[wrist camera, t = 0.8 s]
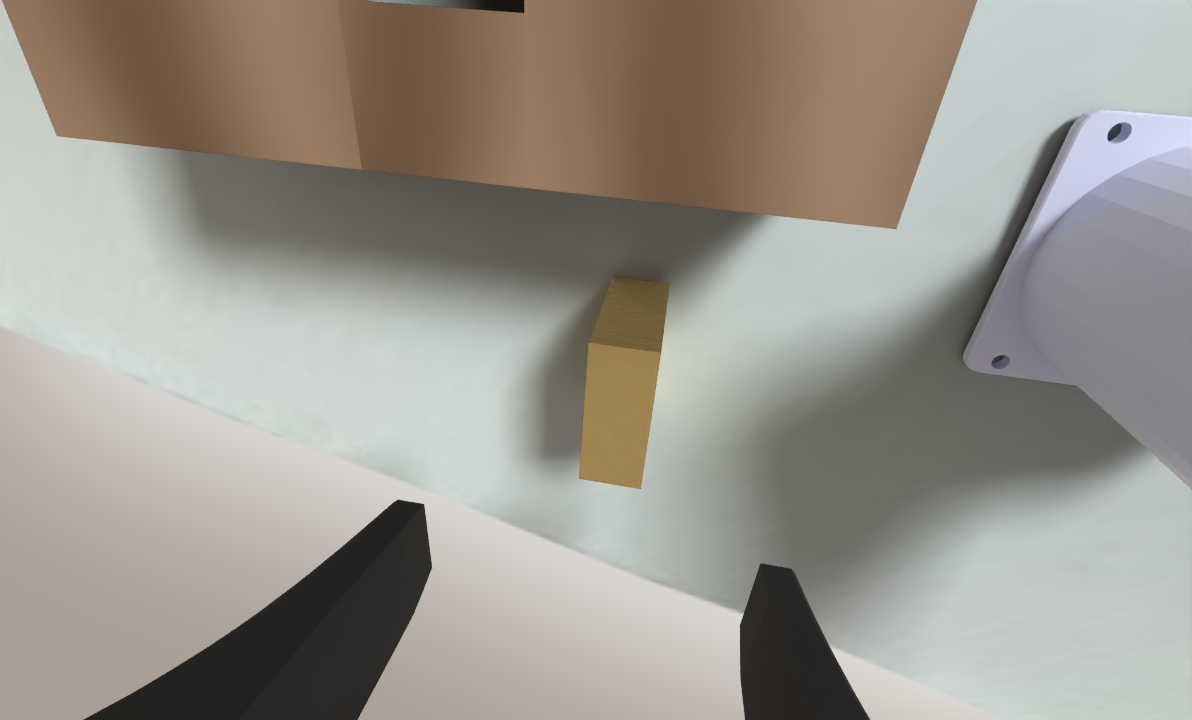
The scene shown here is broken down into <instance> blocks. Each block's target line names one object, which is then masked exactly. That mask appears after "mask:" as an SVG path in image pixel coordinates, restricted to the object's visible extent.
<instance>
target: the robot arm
mask: <svg viewBox="0 0 1192 720" xmlns="http://www.w3.org/2000/svg"><path fill="white" fill-rule="evenodd" d="M1118 123H1121V126H1122V128H1121V132H1120V133H1119V135H1118V136H1117V137H1116V138H1114V139H1113V140H1111V141H1108V139H1107V135H1108V132H1109V131H1110V129H1111V128H1112V127H1113V126H1115V125H1116V124H1118ZM999 355H1004V357H1003V359H1002V360H1001V361H999V362H997V363H992V360H993V359H994V358H995V357H997V356H999ZM963 360H964V363H965V364H966V365H967V366H968V368H970V369H971V370H972V371H975V372H979V373H987V374H994V375H1002V376H1009V377H1017V378H1024V379H1031V380H1039V381H1046V382H1054V383H1061V384H1068V385H1076V386H1078V387H1079V388H1080V389H1081V390H1082V391H1083V392H1085V393H1086V394H1087V395H1088V396H1089V397H1090V398H1091V399H1092V400H1093V401H1095V402H1096V403H1097V404H1098V405H1099V406H1100V407H1101V408H1102V409H1103V410H1105V411H1106V412H1107V413H1108V414H1109V415H1110V416H1111V417H1112V418H1113V419H1114V420H1116V421H1117V422H1118V423H1119V424H1120V425H1121V426H1122V427H1123V428H1124V429H1126V430H1127V431H1128V432H1129V433H1130V434H1131V435H1132V436H1133V437H1134V438H1136V439H1137V440H1138V441H1139V442H1140V443H1141V444H1142V445H1143V446H1144V447H1145V448H1147V449H1148V450H1149V451H1150V452H1151V453H1152V454H1153V455H1154V456H1155V457H1157V458H1158V459H1159V460H1160V461H1161V462H1162V463H1163V464H1164V465H1165V466H1167V467H1168V468H1169V469H1170V470H1171V471H1172V472H1173V473H1174V474H1175V475H1177V476H1178V477H1179V478H1180V479H1181V480H1182V481H1183V482H1184V483H1185V484H1186V485H1188V486H1189V487H1190V488H1191V489H1192V117H1186V116H1174V115H1162V114H1151V113H1139V112H1127V111H1116V110H1104V109H1098V110H1091V111H1089V112H1087V113H1084V114H1083V115H1081V116H1080V117H1079V118H1078V119H1077V120H1076V121H1075V122H1074V123H1073V125H1072V126H1071V128H1070V130H1069V132H1068V134H1067V136H1066V138H1065V141H1064V143H1063V145H1062V147H1061V149H1060V151H1059V153H1058V155H1057V157H1056V160H1055V162H1054V164H1053V166H1052V168H1051V170H1050V172H1049V174H1048V176H1047V179H1046V181H1045V183H1044V185H1043V187H1042V189H1041V191H1040V193H1039V195H1038V198H1037V200H1036V202H1035V204H1034V206H1033V208H1032V210H1031V212H1030V214H1029V216H1028V219H1027V221H1026V223H1025V225H1024V227H1023V229H1022V231H1021V233H1020V235H1019V238H1018V240H1017V242H1016V244H1015V246H1014V248H1013V250H1012V252H1011V254H1010V257H1009V259H1008V261H1007V263H1006V265H1005V267H1004V269H1003V271H1002V273H1001V276H1000V278H999V280H998V282H997V284H996V286H995V288H994V290H993V292H992V295H991V297H990V299H989V301H988V303H987V305H986V307H985V309H984V311H983V314H982V316H981V318H980V320H979V322H978V324H977V326H976V328H975V330H974V332H973V335H972V337H971V339H970V341H969V343H968V345H967V347H966V349H965V351H964V354H963ZM431 569H432V563H431V555H430V547H429V539H428V533H427V523H426V515H425V508H424V504H420V503H414V502H407V501H402V500H397V501H395V502H394V503H392V504H391V505H390V506H389V507H388V508H387V509H385V510H384V511H383V512H382V513H381V514H380V515H379V516H377V517H376V518H375V519H374V520H373V521H372V522H371V523H369V524H368V525H367V526H366V527H365V528H364V529H362V530H361V531H360V532H359V533H358V534H357V535H356V536H354V537H353V538H352V539H351V540H349V541H348V542H347V543H346V544H345V545H344V546H342V547H341V548H340V549H339V550H338V551H337V552H335V553H334V554H333V555H332V556H330V557H329V558H328V559H327V560H325V561H324V562H323V563H322V564H321V565H319V566H318V567H317V568H316V569H314V570H313V571H312V572H311V573H310V574H309V575H307V576H306V577H305V578H303V579H302V580H301V581H300V582H298V583H297V584H296V585H294V586H293V587H292V588H290V589H289V590H288V591H286V592H285V593H284V594H282V595H281V596H280V597H279V598H277V599H276V600H274V601H273V602H272V603H271V604H269V605H268V606H267V607H265V608H264V609H263V610H261V611H260V612H259V613H257V614H256V615H254V616H253V617H251V618H250V619H249V620H247V621H246V622H244V623H243V624H241V625H240V626H239V627H237V628H236V629H234V630H233V631H231V632H230V633H228V634H227V635H226V636H224V637H222V638H221V639H219V640H218V641H216V642H215V643H213V644H212V645H210V646H209V647H207V648H206V649H204V650H203V651H201V652H200V653H198V654H196V655H195V656H193V657H191V658H190V659H188V660H187V661H185V662H183V663H182V664H180V665H179V666H177V667H176V668H174V669H172V670H170V671H169V672H167V673H166V674H164V675H162V676H161V677H159V678H157V679H156V680H154V681H152V682H151V683H149V684H147V685H146V686H144V687H142V688H140V689H139V690H137V691H135V692H134V693H132V694H130V695H128V696H126V697H125V698H123V699H121V700H119V701H117V702H115V703H113V704H112V705H110V706H108V707H106V708H104V709H102V710H100V711H99V712H97V713H95V714H93V715H91V716H90V717H88V718H86V719H84V720H358V718H359V716H360V714H361V712H362V710H363V708H364V706H365V704H366V703H367V701H368V699H369V697H370V695H371V693H372V691H373V689H374V688H375V686H376V684H377V682H378V680H379V678H380V676H381V675H382V673H383V671H384V669H385V667H386V665H387V663H388V661H389V660H390V658H391V656H392V654H393V652H394V650H395V648H396V647H397V645H398V643H399V641H400V639H401V637H402V635H403V633H404V631H405V629H406V628H407V626H408V624H409V622H410V620H411V618H412V616H413V614H414V612H415V609H416V607H417V604H418V602H419V600H420V597H421V595H422V592H423V590H424V587H425V584H426V582H427V579H428V577H429V574H430V571H431ZM740 667H741V668H740V673H741V686H742V696H743V704H744V713H745V720H870V719H869V717H868V715H867V714H866V712H865V710H864V708H863V707H862V705H861V703H860V701H859V700H858V698H857V696H856V694H855V693H854V691H853V689H852V687H851V685H850V684H849V682H848V680H847V678H846V676H845V675H844V673H843V671H842V669H841V667H840V665H839V664H838V662H837V660H836V658H835V656H834V654H833V652H832V650H831V648H830V646H829V644H828V642H827V641H826V639H825V637H824V635H823V633H822V630H821V628H820V626H819V624H818V622H817V620H816V618H815V616H814V614H813V612H812V610H811V608H810V606H809V604H808V601H807V599H806V597H805V595H804V593H803V591H802V588H801V586H800V584H799V582H798V579H797V577H796V575H795V573H794V572H793V571H792V569H789V568H783V567H778V566H772V565H766V564H760V567H759V570H758V573H757V576H756V579H755V582H754V585H753V588H752V591H751V594H750V597H749V600H748V603H747V606H746V609H745V612H744V615H743V618H742V621H741V624H740Z"/></svg>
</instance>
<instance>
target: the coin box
mask: <svg viewBox="0 0 1192 720" xmlns="http://www.w3.org/2000/svg"><path fill="white" fill-rule="evenodd" d="M2 2H3V4H4V7H5V9H6V11H7V14H8V16H9V19H10V21H11V24H12V26H13V29H14V31H15V34H16V36H17V39H18V41H19V44H20V46H21V48H22V51H23V53H24V56H25V58H26V61H27V63H28V66H29V68H30V71H31V73H32V76H33V78H34V81H35V83H36V85H37V88H38V90H39V93H40V95H41V98H42V100H43V103H44V105H45V108H46V110H47V113H48V115H49V118H50V120H51V122H52V125H53V127H54V130H55V132H56V135H57V136H61V137H70V138H79V139H88V140H97V141H106V142H115V143H124V144H133V145H142V146H151V147H160V148H169V149H178V150H187V151H196V152H205V153H214V154H223V155H232V156H241V157H250V158H260V159H269V160H278V161H287V162H296V163H305V164H314V165H323V166H332V167H341V168H350V169H359V170H368V171H377V172H386V173H395V174H404V175H413V176H422V177H431V178H440V179H449V180H458V181H467V182H476V183H485V184H494V185H503V186H512V187H521V188H530V189H540V190H549V191H558V192H567V193H576V194H585V195H594V196H603V197H612V198H621V199H630V200H639V201H648V202H657V203H666V204H675V205H684V206H693V207H702V208H711V209H720V210H729V211H738V212H747V213H756V214H765V215H774V216H783V217H792V218H801V219H810V220H820V221H829V222H838V223H847V224H856V225H865V226H874V227H883V228H892V229H896V228H897V225H898V222H899V220H900V217H901V214H902V211H903V208H904V206H905V203H906V200H907V197H908V194H909V191H910V189H911V186H912V183H913V180H914V177H915V175H916V172H917V169H918V166H919V163H920V160H921V158H922V155H923V152H924V149H925V146H926V143H927V141H928V138H929V135H930V132H931V129H932V127H933V124H934V121H935V118H936V115H937V112H938V110H939V107H940V104H941V101H942V98H943V95H944V93H945V90H946V87H947V84H948V81H949V79H950V76H951V73H952V70H953V67H954V64H955V62H956V59H957V56H958V53H959V50H960V48H961V45H962V42H963V39H964V36H965V33H966V31H967V28H968V25H969V22H970V19H971V16H972V14H973V11H974V8H975V5H976V2H977V0H524V13H515V12H502V11H489V10H475V9H462V8H449V7H436V6H423V5H410V4H397V3H384V2H371V1H366V0H2Z"/></svg>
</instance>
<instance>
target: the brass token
mask: <svg viewBox="0 0 1192 720" xmlns="http://www.w3.org/2000/svg"><path fill="white" fill-rule="evenodd" d="M669 285H670V284H666V283H658V282H650V281H642V280H634V279H626V278H618V277H613V278H612V281H611V283H610V286H609V289H608V291H607V294H606V297H605V299H604V302H603V305H602V308H601V310H600V313H599V316H598V318H597V321H596V324H595V326H594V329H593V332H592V334H591V337H590V340H589V343H588V356H587V371H586V385H585V399H584V413H583V428H582V442H581V456H580V471H579V479H584V480H590V481H596V482H602V483H608V484H614V485H620V486H626V487H632V488H638V489H641V484H642V477H643V470H644V464H645V457H646V450H647V443H648V437H649V430H650V423H651V417H652V410H653V403H654V396H655V390H656V383H657V376H658V370H659V363H660V356H661V349H662V341H663V333H664V325H665V317H666V309H667V301H668V293H669Z"/></svg>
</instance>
